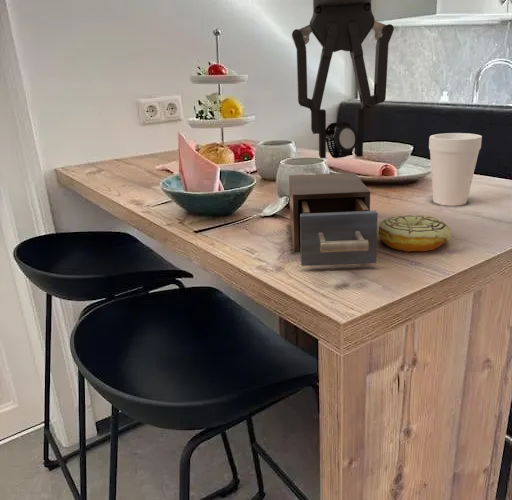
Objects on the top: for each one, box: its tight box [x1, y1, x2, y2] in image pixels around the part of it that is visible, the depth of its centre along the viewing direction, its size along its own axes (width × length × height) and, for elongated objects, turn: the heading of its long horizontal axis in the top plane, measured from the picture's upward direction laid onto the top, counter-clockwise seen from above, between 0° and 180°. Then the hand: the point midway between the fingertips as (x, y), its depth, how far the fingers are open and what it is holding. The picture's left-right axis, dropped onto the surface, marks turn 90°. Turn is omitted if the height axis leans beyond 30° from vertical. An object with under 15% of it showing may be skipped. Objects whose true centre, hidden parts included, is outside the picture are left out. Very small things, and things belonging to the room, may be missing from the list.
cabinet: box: [288, 172, 371, 252], centre depth 83 cm, size 15×12×9 cm
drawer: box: [300, 197, 379, 267], centre depth 72 cm, size 19×10×7 cm, turn 179°
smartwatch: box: [326, 121, 357, 159], centre depth 72 cm, size 4×5×5 cm
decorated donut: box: [377, 214, 453, 253], centre depth 79 cm, size 10×11×4 cm
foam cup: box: [428, 132, 483, 207], centre depth 99 cm, size 10×9×13 cm
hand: (340, 155), depth 72 cm, fingers closed on smartwatch, 4 cm apart
